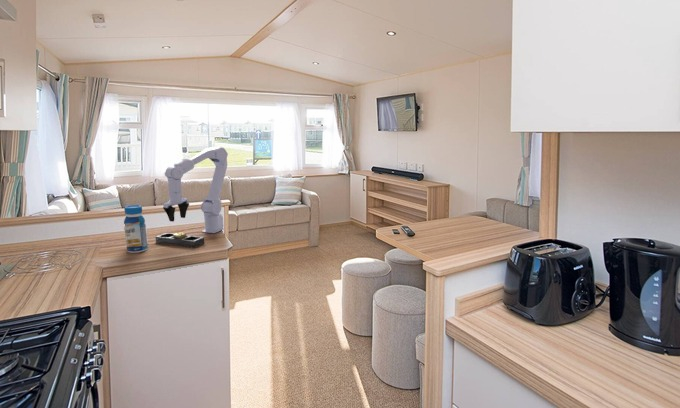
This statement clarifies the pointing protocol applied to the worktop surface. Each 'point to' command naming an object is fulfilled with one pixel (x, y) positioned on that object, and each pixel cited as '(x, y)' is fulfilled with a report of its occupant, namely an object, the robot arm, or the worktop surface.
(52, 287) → the worktop surface
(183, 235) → the wooden knob block
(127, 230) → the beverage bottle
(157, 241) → the cabinet frame
